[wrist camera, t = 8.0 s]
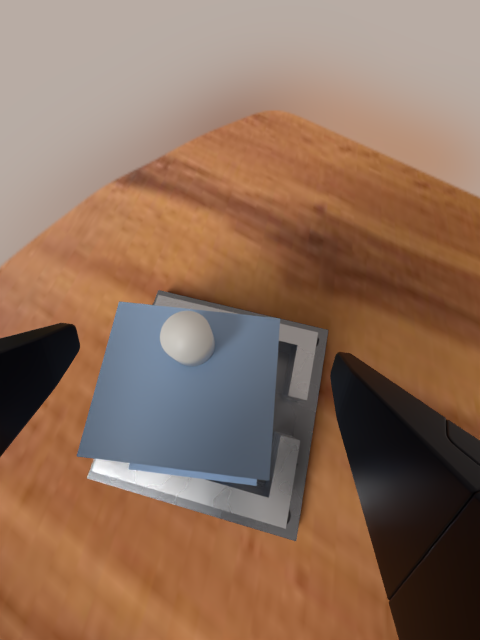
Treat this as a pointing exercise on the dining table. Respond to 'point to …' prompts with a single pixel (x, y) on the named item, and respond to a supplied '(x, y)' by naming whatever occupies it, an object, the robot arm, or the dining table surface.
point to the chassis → (287, 441)
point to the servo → (186, 394)
